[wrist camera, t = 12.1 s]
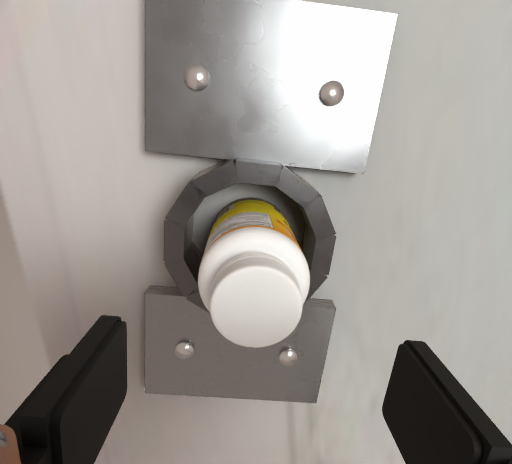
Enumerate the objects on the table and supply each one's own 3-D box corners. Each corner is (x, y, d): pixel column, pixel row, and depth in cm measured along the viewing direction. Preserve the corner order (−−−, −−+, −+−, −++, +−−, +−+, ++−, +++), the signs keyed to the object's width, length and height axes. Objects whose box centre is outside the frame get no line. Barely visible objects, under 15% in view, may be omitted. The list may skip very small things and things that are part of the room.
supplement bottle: (289, 267, 24) (319, 362, 14) (214, 269, 24) (194, 367, 14) (289, 193, 22) (325, 245, 13) (209, 196, 22) (183, 250, 13)
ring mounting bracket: (151, -12, 18) (130, -43, 15) (388, 20, 19) (418, -2, 16) (149, 381, 27) (135, 417, 24) (313, 391, 28) (322, 427, 25)
